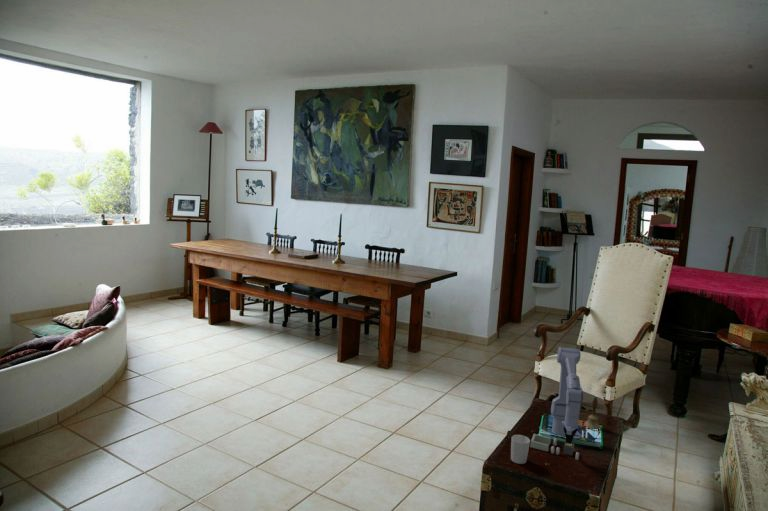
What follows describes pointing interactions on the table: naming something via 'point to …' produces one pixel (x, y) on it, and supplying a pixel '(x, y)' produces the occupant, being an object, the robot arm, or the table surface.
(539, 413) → the table surface
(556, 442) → the clip
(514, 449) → the white cup
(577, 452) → the clip
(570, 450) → the connector block
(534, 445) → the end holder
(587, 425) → the hand bell
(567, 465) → the table surface
